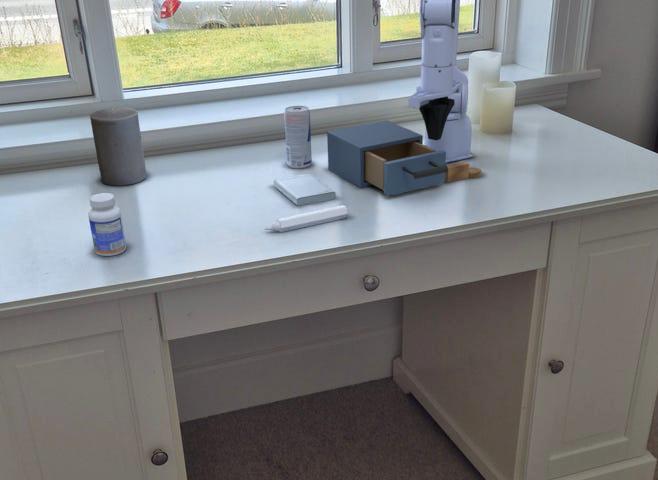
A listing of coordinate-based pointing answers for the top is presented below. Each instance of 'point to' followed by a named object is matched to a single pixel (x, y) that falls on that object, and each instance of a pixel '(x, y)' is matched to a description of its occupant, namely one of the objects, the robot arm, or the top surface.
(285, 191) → the hard drive
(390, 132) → the cabinet
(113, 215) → the pill bottle
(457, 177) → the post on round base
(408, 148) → the drawer
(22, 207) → the top surface
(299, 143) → the energy drink
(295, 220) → the marker
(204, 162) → the top surface
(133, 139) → the pillar candle
